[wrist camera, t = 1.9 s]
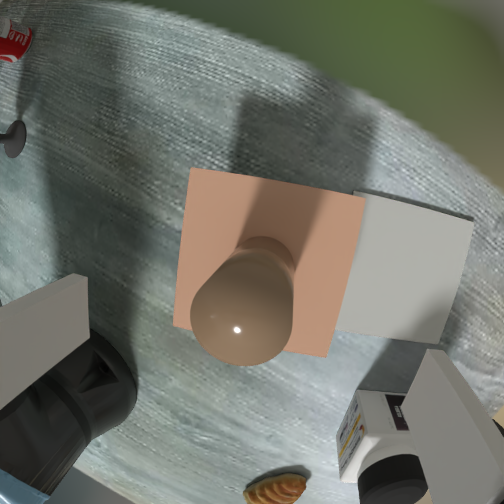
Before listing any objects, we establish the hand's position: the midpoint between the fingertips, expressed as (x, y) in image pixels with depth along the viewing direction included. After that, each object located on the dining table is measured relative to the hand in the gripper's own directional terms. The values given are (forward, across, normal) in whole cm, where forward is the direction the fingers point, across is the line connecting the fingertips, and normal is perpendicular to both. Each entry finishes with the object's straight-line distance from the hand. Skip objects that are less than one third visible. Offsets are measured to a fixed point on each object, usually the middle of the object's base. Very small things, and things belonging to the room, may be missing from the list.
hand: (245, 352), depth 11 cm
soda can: (+18, +39, -22) cm, 48 cm away
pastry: (+19, -6, +34) cm, 39 cm away
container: (+19, -15, +17) cm, 30 cm away
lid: (+12, +1, 0) cm, 13 cm away
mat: (+19, -12, 0) cm, 22 cm away
